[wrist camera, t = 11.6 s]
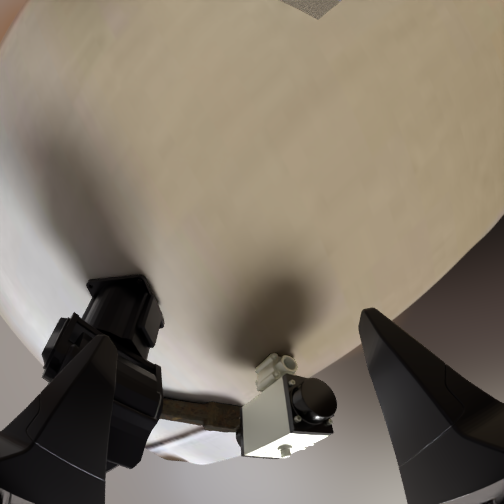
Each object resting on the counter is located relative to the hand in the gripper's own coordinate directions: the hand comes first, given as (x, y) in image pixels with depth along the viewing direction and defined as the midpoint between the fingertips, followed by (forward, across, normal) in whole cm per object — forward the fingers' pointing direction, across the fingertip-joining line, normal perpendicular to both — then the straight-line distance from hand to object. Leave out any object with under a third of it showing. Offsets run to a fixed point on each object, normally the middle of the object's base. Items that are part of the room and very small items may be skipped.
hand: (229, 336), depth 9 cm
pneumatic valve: (+13, -2, +21) cm, 25 cm away
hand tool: (+14, +12, +29) cm, 34 cm away
